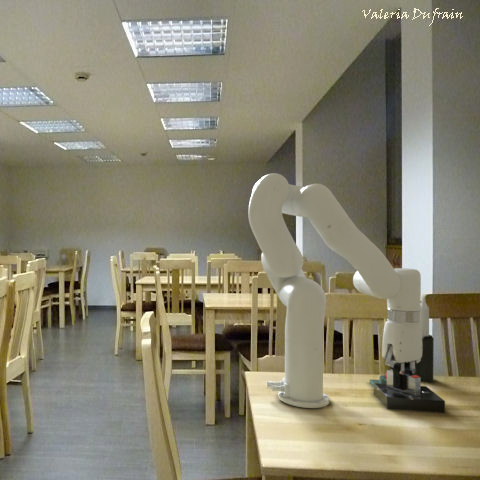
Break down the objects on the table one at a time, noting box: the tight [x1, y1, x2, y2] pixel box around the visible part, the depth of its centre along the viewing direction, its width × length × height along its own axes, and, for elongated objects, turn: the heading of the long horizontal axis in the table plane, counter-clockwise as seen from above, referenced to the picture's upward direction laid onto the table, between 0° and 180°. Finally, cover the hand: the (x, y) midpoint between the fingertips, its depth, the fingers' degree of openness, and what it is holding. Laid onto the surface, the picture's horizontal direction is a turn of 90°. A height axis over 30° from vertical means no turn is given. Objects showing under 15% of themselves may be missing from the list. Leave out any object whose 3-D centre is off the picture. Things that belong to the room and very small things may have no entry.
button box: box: [369, 374, 387, 388], centre depth 124 cm, size 10×8×3 cm
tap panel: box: [373, 383, 446, 414], centre depth 113 cm, size 14×12×3 cm
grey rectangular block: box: [386, 368, 422, 396], centre depth 113 cm, size 8×2×5 cm, turn 25°
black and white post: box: [413, 296, 435, 384], centre depth 133 cm, size 5×5×25 cm
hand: (403, 387), depth 113 cm, fingers closed on grey rectangular block, 2 cm apart
